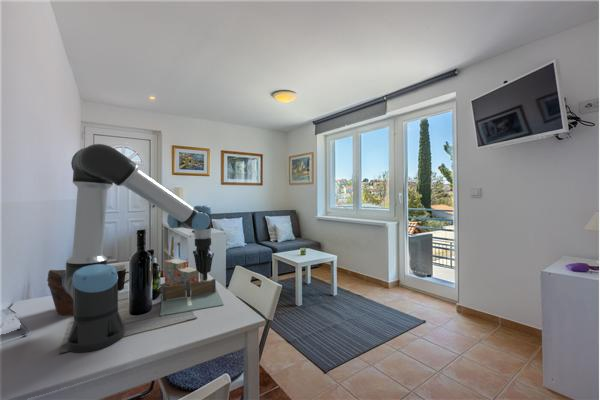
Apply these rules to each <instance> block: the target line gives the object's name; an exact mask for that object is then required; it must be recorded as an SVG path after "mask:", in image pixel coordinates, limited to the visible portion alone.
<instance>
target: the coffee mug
mask: <svg viewBox="0 0 600 400" xmlns="http://www.w3.org/2000/svg"><path fill="white" fill-rule="evenodd" d="M114 267H115V266H114ZM115 268H116V270H117V274H118V292H119V291H122V290H124V289H125V284H126V283H127V282H129V281H130V280H129V279H127V280H126V275H127V274H130V273H129V272H130V271H127V267H124V266H117V267H115ZM125 280H126V281H125Z"/></svg>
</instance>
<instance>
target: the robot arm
mask: <svg viewBox="0 0 600 400" xmlns="http://www.w3.org/2000/svg"><path fill="white" fill-rule="evenodd" d="M70 162H71V164H70V165H71V169H72V170H73V171H72V172H73V173H72V174H73V175H72V183H73V184H74V185H75V186H76V188H77V192H76V193H77V194H76V207H75V219H74V233H73V242H72V243H73V246H72V255H71V256H70V257H69V258H68V259H67V260H65V261H66V263H65V270H66V271H65V273H64V275H63V278H62V285H63V288H64V290H65V291H66V292H67V293H68V294H69V295H70V296H71V297H72V298H73V309H74V314H73V323H72V325H71V328H70V332H69V335H68V336H67V341H66V348H67V350H68V351H69V352H71V353H86V352H92V351H98V350H100V349H103V348H107V347H109V346H111V345H114V343H116V342H118V341H120V340H121V339H122V338H124V336H125V332H126V328H125V327H126V326H125V324H124V323H125V322H124V321H123V319H122V317H121V315H120V312H119V293H118V292H119V291H118V274H117V270H116V268H115V266H114V265H111V264H108V258H107V257H106V256H105V255H104V254H103V253H104V252H103V251H104V240H105V239H104V238H105V237H104V236H105V225H106V211H107V199H108V198H107V197H108V190H109V189H110V188H111V187H113V185H116V186H117V187H122V186H123V187H125V188H127V189H128V190H129V191H131V192H132V193H134V194H136V195H137V196H139V197H141V198H142V199H144V200H145V201H147V202H148V203H150V204H151V205H153V206H156V208H158V209H160V210H161V211H163V212H164V213H166V214H167V219H166V221H167V225H168V227H169V228H170V229H182V228H183V229H189V230H194V236H193V237H194V238H195V239H194V247H196V248H195V250H193V251H192V254H193V257H194V263H195V269H196V270H197V271H199V282H202V281H208V273H210V272H211V271H212V263H213V258H214V256H215V253H214V252H212V251H211V248H210V247H211V245H212V238H211V236H212V210H211V206H210V205H195V206H194V207H193V206H192V205H190V204H189V203H187V202H186V201H184V200H183V199H182V198H180V197H179V196H177V195H176V194H175V193H173V192H172V191H171V190H169V189H168V188H166V187H164V186H163V185H162V184H160V183H159V182H158V181H157V180H155V179H153V178H152V177H150V176H149V175H148V174H146V173H145V172H144V171H142V170H140V169H139V167H138V164H137V163H136V162H134V161H133V160H131V159H130V158H129V157H127V156H126V155H124V154H123V153H121V152H120V151H119V150H118V149H116V148H114V147H113V146H110V145H107V144H103V143H102V144H101V143H95V144H91V145H88V146H87V147H84V148H81V149H78V151H76V152H75V153H74V155H73V156H72V158H71V161H70Z"/></svg>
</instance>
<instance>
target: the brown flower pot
mask: <svg viewBox="0 0 600 400" xmlns="http://www.w3.org/2000/svg"><path fill="white" fill-rule="evenodd" d="M65 271H66V269H57V270H56V269H50V270H48V272H47V273H48V274H47V279H46V281H47V286H48V288H49V291H50V294H51V297H52V300H53V304H54V307H55V311H56V313H57V315H60V316H72V315H73V316H74V309H73V298H72V297H71V296H70V295H69V294H68V293H67V292H66V291H65V290H64V288H63V285H62V278H63V275H64V273H65Z"/></svg>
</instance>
